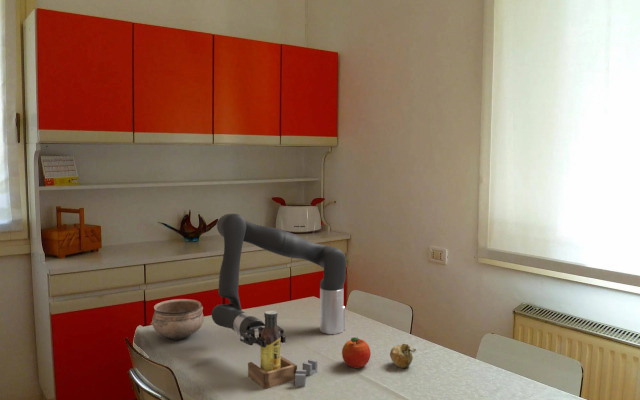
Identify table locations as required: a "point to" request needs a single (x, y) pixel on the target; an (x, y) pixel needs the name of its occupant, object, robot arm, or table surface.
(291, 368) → the frame
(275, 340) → the sauce bottle
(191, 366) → the table surface
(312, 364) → the clip
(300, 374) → the clip
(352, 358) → the fruit
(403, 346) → the onion
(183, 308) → the cooking pot
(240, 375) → the table surface
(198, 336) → the table surface
